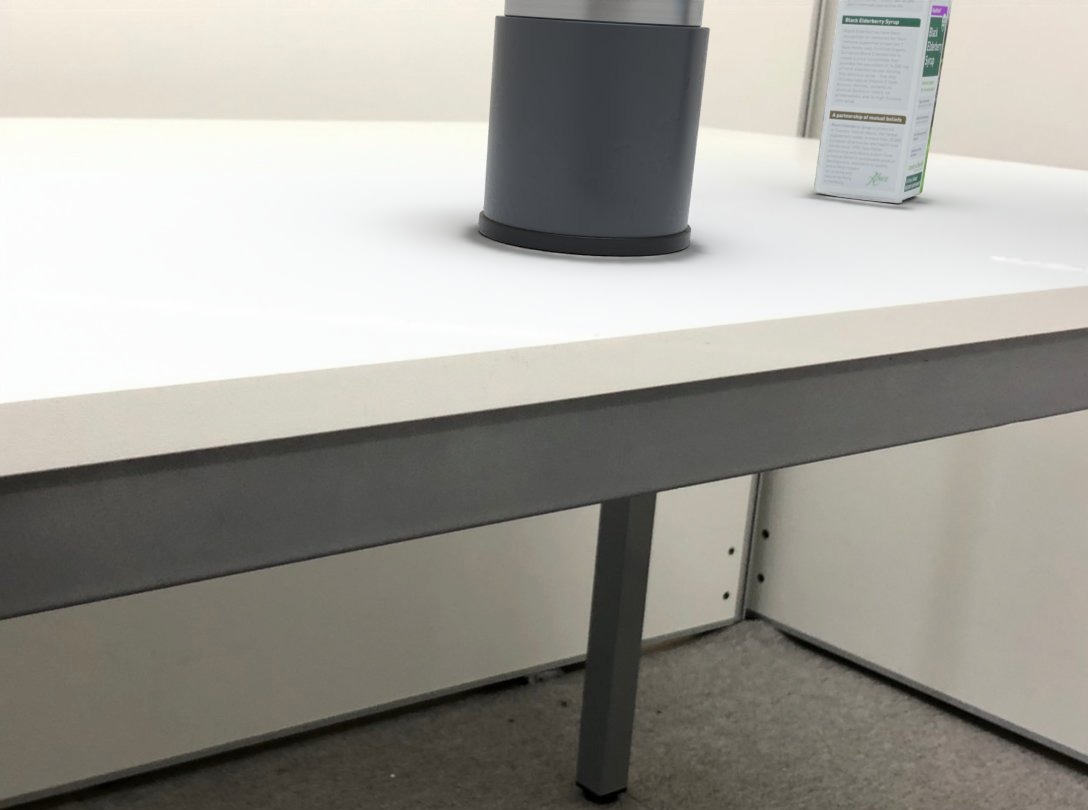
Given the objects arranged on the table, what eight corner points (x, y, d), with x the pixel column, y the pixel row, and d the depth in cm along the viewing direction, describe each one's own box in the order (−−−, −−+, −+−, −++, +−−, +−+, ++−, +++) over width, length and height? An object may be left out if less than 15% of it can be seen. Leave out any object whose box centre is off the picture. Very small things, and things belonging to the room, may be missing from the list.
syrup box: (901, 204, 82) (944, -46, 77) (808, 193, 84) (844, -49, 79) (922, 196, 86) (964, -41, 81) (833, 185, 89) (868, -44, 84)
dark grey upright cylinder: (683, 226, 69) (711, -17, 65) (695, 262, 59) (729, -21, 55) (487, 212, 70) (502, -28, 66) (467, 246, 60) (484, -34, 56)
